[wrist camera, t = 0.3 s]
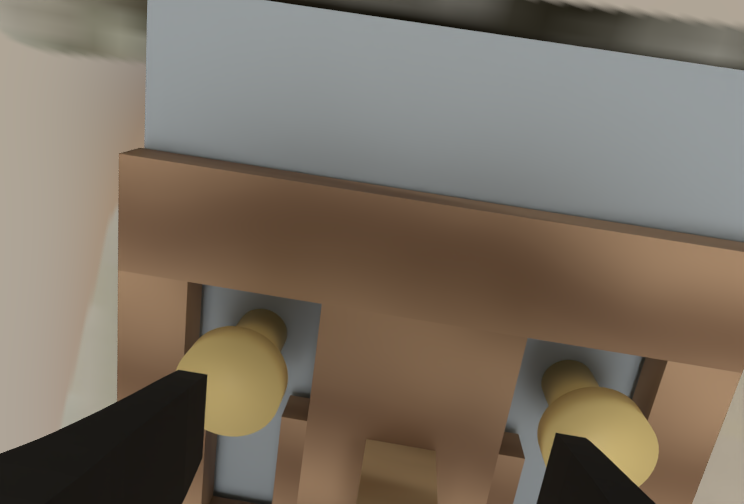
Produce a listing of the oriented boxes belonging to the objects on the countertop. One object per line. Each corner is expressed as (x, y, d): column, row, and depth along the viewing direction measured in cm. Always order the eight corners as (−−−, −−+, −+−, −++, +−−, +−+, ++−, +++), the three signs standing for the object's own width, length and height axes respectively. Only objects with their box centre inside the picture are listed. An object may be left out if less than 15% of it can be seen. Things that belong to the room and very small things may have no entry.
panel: (620, 623, 23) (677, 782, 18) (133, 535, 24) (53, 663, 19) (759, 244, 18) (892, 313, 13) (140, 147, 19) (35, 176, 14)
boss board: (602, 609, 25) (648, 743, 20) (148, 527, 25) (83, 637, 21) (787, 79, 18) (925, 83, 13) (164, -12, 19) (72, -42, 14)
